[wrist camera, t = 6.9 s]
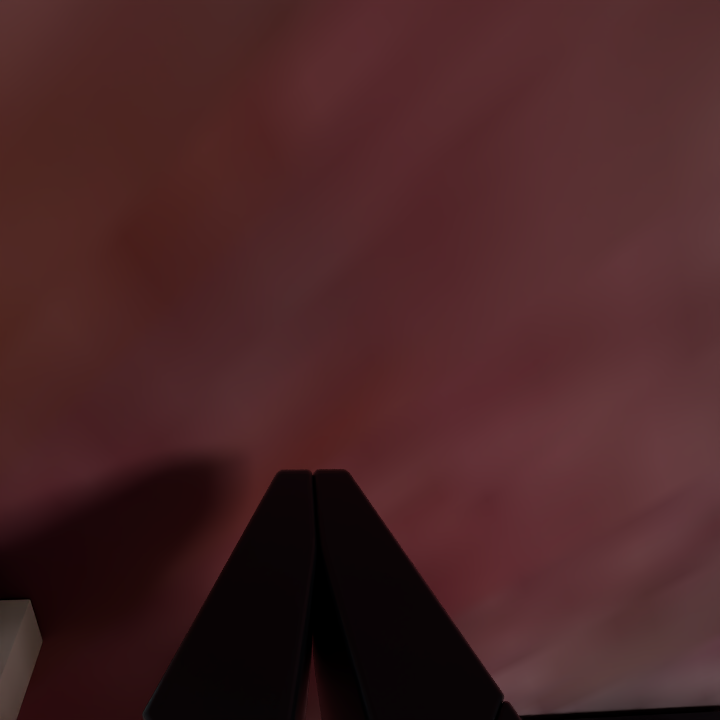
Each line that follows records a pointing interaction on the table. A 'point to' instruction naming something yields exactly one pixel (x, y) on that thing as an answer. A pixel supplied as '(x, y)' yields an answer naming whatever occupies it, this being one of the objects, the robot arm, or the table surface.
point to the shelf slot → (16, 654)
